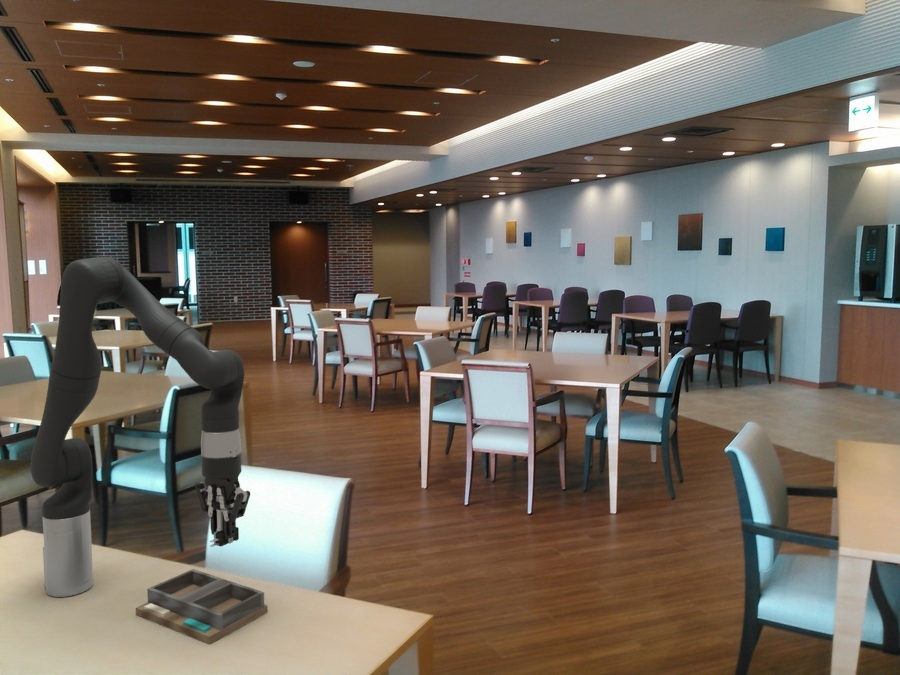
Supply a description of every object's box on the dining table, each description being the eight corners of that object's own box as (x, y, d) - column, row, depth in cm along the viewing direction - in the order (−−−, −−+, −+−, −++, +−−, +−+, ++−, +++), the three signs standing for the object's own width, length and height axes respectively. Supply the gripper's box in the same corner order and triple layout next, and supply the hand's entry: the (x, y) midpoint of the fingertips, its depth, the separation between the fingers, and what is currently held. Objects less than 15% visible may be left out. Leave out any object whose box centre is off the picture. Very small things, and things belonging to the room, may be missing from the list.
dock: (135, 614, 148) (135, 593, 147) (195, 587, 160) (195, 567, 160) (209, 644, 136) (208, 621, 136) (267, 612, 149) (267, 591, 149)
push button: (220, 551, 140) (219, 501, 139) (200, 546, 143) (199, 497, 142) (245, 540, 146) (244, 492, 145) (226, 535, 149) (224, 488, 148)
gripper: (181, 450, 143) (184, 534, 145) (231, 460, 136) (233, 549, 138) (212, 442, 149) (214, 523, 151) (260, 452, 142) (262, 536, 144)
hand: (223, 535), depth 144 cm, fingers closed on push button, 3 cm apart
